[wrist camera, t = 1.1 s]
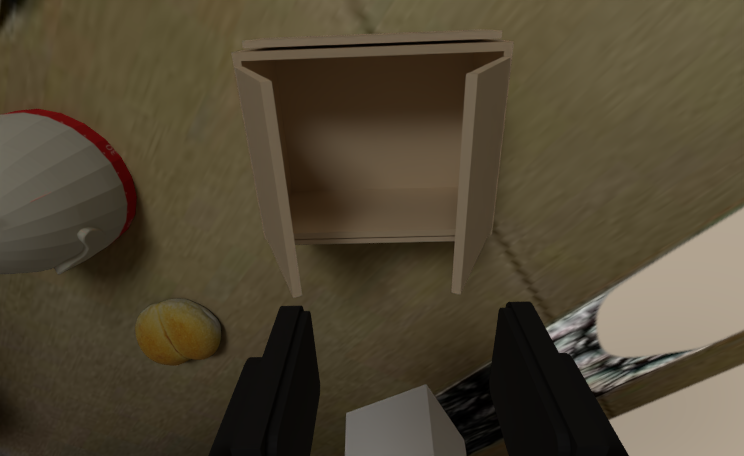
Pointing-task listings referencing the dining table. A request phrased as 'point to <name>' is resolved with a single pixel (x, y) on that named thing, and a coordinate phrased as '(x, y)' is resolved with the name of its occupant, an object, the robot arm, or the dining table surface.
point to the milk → (403, 428)
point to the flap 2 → (478, 163)
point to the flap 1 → (269, 171)
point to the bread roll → (177, 332)
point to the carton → (372, 129)
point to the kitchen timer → (58, 192)
